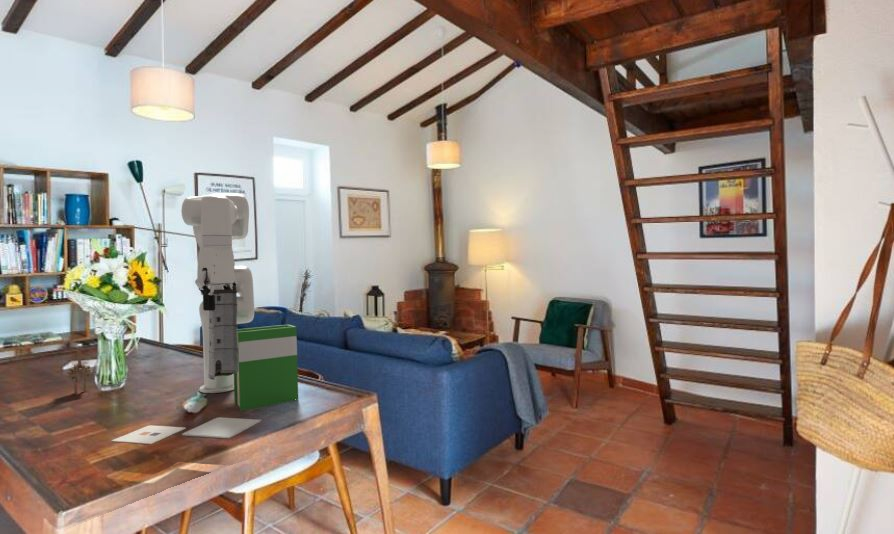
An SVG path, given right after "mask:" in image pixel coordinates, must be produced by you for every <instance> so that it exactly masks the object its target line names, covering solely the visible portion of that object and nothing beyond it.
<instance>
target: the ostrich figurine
mask: <svg viewBox="0 0 894 534" xmlns="http://www.w3.org/2000/svg"><path fill="white" fill-rule="evenodd" d="M91 375H93V370H92V369H91V366H90V365H89V364H88V365H85V363H84V362H83V363H82V345H77V363H73V366H71V367H68V372H66V377H67V379H70V381H71V380H73V394H78V381H79V379H82V388H83V390H82V391H83V393H86V392H87V379H88V378H89V377H90V376H91Z"/></svg>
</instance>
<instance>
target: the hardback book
mask: <svg viewBox="0 0 894 534" xmlns="http://www.w3.org/2000/svg"><path fill="white" fill-rule="evenodd" d="M297 332H298V331H297V326H296V325H292V324H280V325H270V326H260V327H259V326H257V327H247V328H237V346H238V373H234V390H233V391H234V392H233V395H234V396H233V397H234V398H233V399H234V400H233V402H234V404H233V405H234V406H238V407H239V411H240V412H241V411H242V410H243V411H246V410H253V409H259V408H263V407H268V406H273V405H278V404H283V402H284V403H288V402H287V401H290V402H292V401H291V400H295V399H298V400H299V375H298V373H299V372H298V368H299V367H298V344H297V343H298V342H297V341H298V340H297V337H298V336H297V335H298V334H297ZM295 401H296V400H295ZM243 411H242V412H243Z"/></svg>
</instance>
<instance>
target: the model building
mask: <svg viewBox="0 0 894 534" xmlns="http://www.w3.org/2000/svg"><path fill="white" fill-rule="evenodd" d="M232 288H233V289H221V290H214V292H213V295H215V310H213V311H209V374H208V377H209V378H210V379H213V380H214V378H215V377H216V376H229V375H232V374H234V373H238V346H237V329H238V324H237V297H238V296H237V294H238V293H237V290H236V286H232ZM231 304H232V305H231Z"/></svg>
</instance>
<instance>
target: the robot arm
mask: <svg viewBox="0 0 894 534" xmlns="http://www.w3.org/2000/svg"><path fill="white" fill-rule="evenodd" d="M249 206H250V205H249V201H248V200H247V198H246V197H245V196H244V195H243V194H241V193H240V194H239V193H217V192H214V193H213V192H212V193H208V194H206V195H201V196H189V197H186V198H184V199H183V202H182V205H181V211H180V212H181V217H182V218H181V219H182V220H183V222H184V224H186V225H187V226H190V227H191V226H192V231H193V235H194V238H195V241H196V243H197V245H198V247H199V251H198V257H197V271H196V274H197V275H196V277H197V278H196V279H195V281H194V283H195V285H196V287H197V288H198V290H199V291H200V295H201V296H202V301H201V303H199V308H198V311H199V318H200V323H201V329H202V331H201V332H202V345H203V346H202V349H203V355H202V356H203V377H204V378H203V379H204V380H203V383H204V384H202V385H200V387H199V392H200V393H205V394H217V393H225V392H231V391H234V374H232V375H229V376H216V377H215V378H214V380H213V379H210V378H209V377H208V374H209V311H213V310H215V295H213V292H214V290H221V289H233V288H232V286H236V290H237V294H238V295H239V296H237V325H240V324H249V323H251V322H252V321H253V320H254V318H255V300H254V299H255V297H254V280H253V274H252V270H251V269H250V268H249V267H248V266H246V265H236V263H235V262H236V261H235V256H234V250H233V240H243V239H245V238H246V237H247V236H248V232H249V222H250V220H249V219H250V207H249ZM231 305H232V304H231Z"/></svg>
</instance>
